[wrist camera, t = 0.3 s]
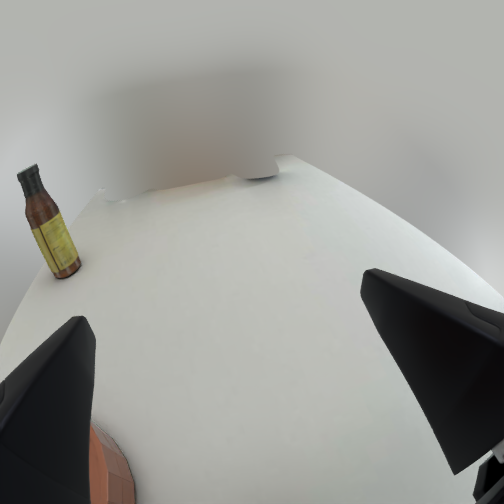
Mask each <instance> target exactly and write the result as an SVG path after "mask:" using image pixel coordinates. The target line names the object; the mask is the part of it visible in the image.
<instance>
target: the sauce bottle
mask: <svg viewBox="0 0 504 504" xmlns="http://www.w3.org/2000/svg"><path fill="white" fill-rule="evenodd" d="M17 177H18V180H19V182H20V183H21V186H22V189H23V192H24V196H25V198H26V209H25V214H26V218H27V220H28V222H29V224H30V227H31V230H32V233H33V235H34V237H35V239H36V242H37V243H38V246H39V248H40V250H41V252H42V254H43V256H44V258H45V260H46V262H47V264H48V266H49V268H50V269H51V271H52V272H53V273H54V275H55V277H56V278H65V277H67V276H69V275H71V274H73V273H74V272H75V271H76V270H77V269H78V268H79V266H80V263H81V261H80V259H79V257H78V252H77V250H76V248H75V246H74V244H73V241H72V239H71V237H70V235H69V232H68V230H67V228H66V225H65V223H64V220H63V218H62V216H61V213H60V211H59V208H58V206H57V205H56V204H55V202H54V201H53V199H52V198H51V197H50V195H49V194H48V193H47V191H46V190H45V188H44V187H43V184H42V181H41V178H40V175H39V168H38V165H37V164H34V165H32V166H30V167H28V168H26V169H24V170H22V171H21V172H19V173H18V174H17Z"/></svg>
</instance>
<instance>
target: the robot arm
mask: <svg viewBox="0 0 504 504" xmlns="http://www.w3.org/2000/svg"><path fill="white" fill-rule="evenodd" d="M360 294H361V298H362V300H363V302H364V304H365V306H366V308H367V310H368V312H369V314H370V316H371V318H372V321H373V323H374V325H375V327H376V329H377V331H378V333H379V334H380V336H381V338H382V340H383V341H384V343H385V345H386V346H387V348H388V350H389V351H390V353H391V355H392V356H393V358H394V360H395V361H396V363H397V365H398V367H399V368H400V370H401V372H402V374H403V375H404V377H405V379H406V381H407V382H408V384H409V386H410V388H411V390H412V391H413V393H414V395H415V397H416V399H417V401H418V403H419V404H420V406H421V408H422V410H423V412H424V414H425V416H426V418H427V420H428V422H429V424H430V426H431V428H432V429H433V432H434V434H435V436H436V438H437V440H438V442H439V444H440V446H441V448H442V450H443V453H444V455H445V457H446V459H447V461H448V464H449V466H450V468H451V470H452V472H453V474H454V475H456V474H458V473H460V472H461V471H463V470H464V469H465V468H467V467H468V466H470V465H471V464H473V463H474V462H475V461H477V460H478V459H479V458H481V457H482V456H483V455H485V454H486V453H487V452H489V451H490V450H492V452H493V454H492V455H491V456H490V457H489V458H488V459H487V460H486V461H485V462H484V463H483V464H481V465H480V466H479V471H478V475H477V480H476V484H475V488H474V492H473V496H474V498H475V500H476V503H475V504H504V313H501V312H497V311H494V310H491V309H488V308H485V307H482V306H480V305H477V304H474V303H471V302H469V301H466V300H463V299H461V298H458V297H455V296H453V295H450V294H447V293H444V292H442V291H439V290H436V289H433V288H431V287H428V286H425V285H422V284H419V283H417V282H414V281H411V280H408V279H405V278H402V277H400V276H397V275H394V274H391V273H388V272H385V271H382V270H379V269H376V268H374V269H369V270H366V271H365V272H364V274H363V279H362V285H361V291H360ZM95 349H96V339H95V335H94V333H93V331H92V329H91V327H90V325H89V323H88V321H87V319H86V318H85V317H84V316H74V317H72V318H71V319H69V320H68V321H67V322H66V323H65V324H64V325H63V326H61V327H60V328H59V329H58V330H57V331H56V332H55V333H53V334H52V335H51V336H50V337H49V338H48V339H47V340H46V341H44V342H43V343H42V344H41V345H40V346H39V347H38V348H37V349H36V350H35V351H33V352H32V353H31V354H30V355H29V356H28V357H27V358H26V359H25V360H24V361H23V362H22V363H21V364H20V365H19V366H18V367H17V368H16V369H15V370H13V371H12V372H11V373H10V374H9V375H8V376H7V377H6V378H5V380H3V381H2V382H1V383H0V504H91V497H90V475H89V446H90V423H91V410H92V399H93V389H94V374H95Z"/></svg>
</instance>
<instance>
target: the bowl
mask: <svg viewBox="0 0 504 504" xmlns="http://www.w3.org/2000/svg"><path fill="white" fill-rule="evenodd" d="M89 475H90V497H91V504H135V492H134V481H133V478H132V476H131V473H130V470H129V467H128V463H127V460H126V458H125V457H124V455H123V454H122V452H121V451H120V449H119V448H118V446H117V445H116V443H115V442H114V440H113V439H112V438H111V437H110V436H109V435H108V434H107V433H105V432H104V431H103V430H102V429H101V428H100V427H99V426H98V425H96V424H95V423H94V422H93V421H92V420H91V423H90V446H89Z"/></svg>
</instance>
